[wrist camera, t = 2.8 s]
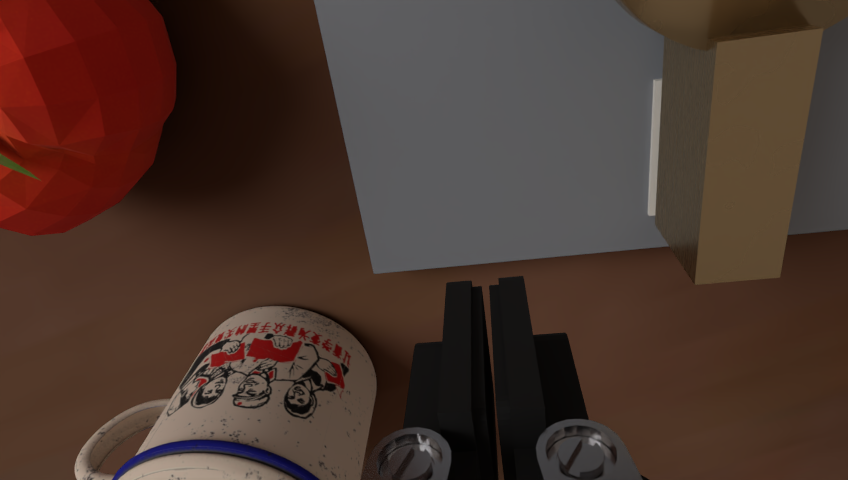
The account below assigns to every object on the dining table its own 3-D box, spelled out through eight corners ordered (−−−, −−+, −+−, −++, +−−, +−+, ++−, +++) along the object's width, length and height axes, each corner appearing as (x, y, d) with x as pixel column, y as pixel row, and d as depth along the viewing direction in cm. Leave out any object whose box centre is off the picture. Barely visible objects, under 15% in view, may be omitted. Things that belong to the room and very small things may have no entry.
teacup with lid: (377, 299, 26) (321, 541, 15) (386, 441, 30) (347, 704, 20) (122, 293, 26) (-93, 521, 16) (167, 433, 31) (20, 683, 20)
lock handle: (564, -282, 14) (600, -359, 10) (915, -354, 13) (1093, -468, 9) (575, 232, 21) (600, 296, 17) (808, 209, 20) (888, 272, 16)
